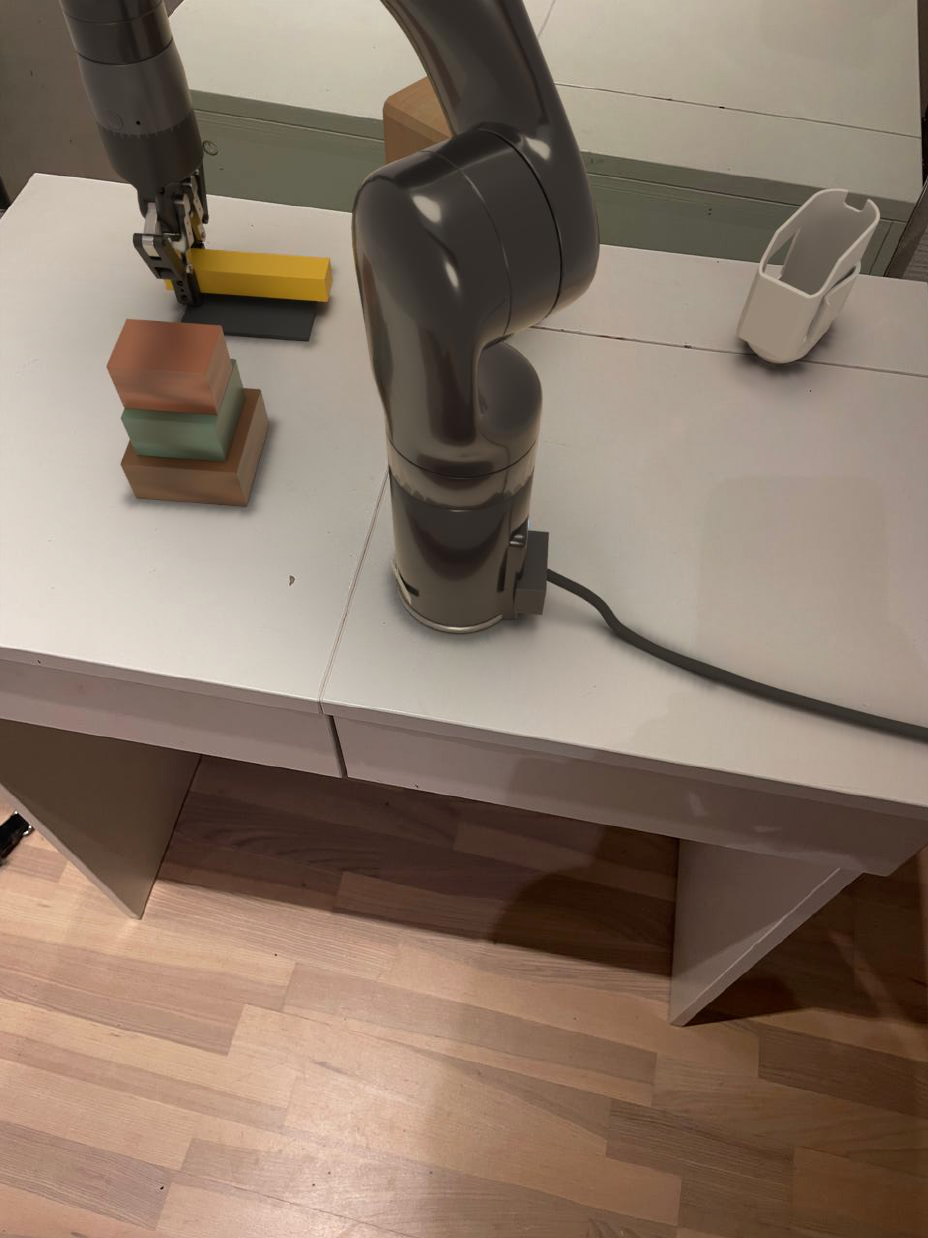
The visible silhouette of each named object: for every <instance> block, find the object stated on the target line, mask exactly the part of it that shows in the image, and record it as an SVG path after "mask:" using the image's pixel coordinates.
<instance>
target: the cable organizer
mask: <svg viewBox="0 0 928 1238" xmlns="http://www.w3.org/2000/svg"><path fill="white" fill-rule="evenodd" d="M849 192H850V190H849V189H846V188H826V189H822V190H819V191H817V192H815V193H813V194H812V195H811V197H809V198H808V199H807V201H805V202H804V203H803V204H802V205H801V206H800V207H799V208H798V209H797V210H796V211H795V212H794V213H793V214H792V215H791V216H790V217H789V218H788V219H787V220H786V221H785V222H784V223H783V224H782V225H781V226H780V227H778V228H777V230H775V232H774V234H773V235H772V238H771V240H770V241H769V244H768V245H767V247H766V248H765V251H764V253H763V255H762V257H761V259H760V261H759V264H758V266H757V270H756V272H755V275H754V278H753V281H752V284H751V285H750V289H749V292H748V295H747V298H746V301H745V303H744V306H743V309H742V311H741V314H740V317H739V320H738V323H737V326H736V331H735V332H736V335H737V337H738V338H739V339H742V340H743V341H745V342H747V344H748V345H749V347H750V348H751V349H752V351H753V352H754V353H755V354H756V355H757V356H758V357H759V358H760V359H762V360H764V361H766V362H768V363H772V364H786V363H791V362H794V361H797V360H799V359H802V358H803V357H805V355H807V354H808V353H809V352H810V350H812V348H813V347H814V346H815V345H816V344H817V343H818V342H819V340H820V339H821V338H822V337H823V336H824V335H825V333H826V332H827V331H828V330H829V329H830V327H831V325H832V322H833V320H834V319H836V318H837V317H839V315H840V314H841V312H842V311H843V309H844V306H845V304H846V302H847V300H848V298H849V296H850V293H851V291H852V289H853V287H854V285H855V283H856V281H857V279H858V277H859V274H860V272H861V269H862V263H861V260H862V258H863V256H864V254H865V251H866V249H867V248H868V246H869V243H870V241H871V239H872V236H874V235H873V234H874V233H875V231H876V228H877V226H878V224H879V221H880V219H881V211H880V209H879V207H878V206H877V204H875V202H874V201H873V200H872V199H870V198H868V199H867V200H866V202H865V204H864V206H863V208H862V209H861V210H859V209H858V208H855V207H853V206H851V205H848V204H847V203H846V198H847V196H848V194H849ZM792 237H793V238H792ZM791 238H792V241H791V243H790V246H789V248H788V251H787V254H786V257H785V259H784V261H783V265H782V267H781V270H780V273H779V274H778V275H777V276H776V277H773V276H771V275H769V274H767V273H765V271H766V269H767V265H768V263H769V260H770V258H772V256H773V255H775V254H776V252H778V251H779V250H780V248H782V246H784V245H785V244H786V243H787V242H788V240H790V239H791Z"/></svg>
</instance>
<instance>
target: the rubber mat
mask: <svg viewBox="0 0 928 1238" xmlns="http://www.w3.org/2000/svg"><path fill="white" fill-rule="evenodd" d="M201 294H202V297H203V300H202V302H201V305H200V306H186V307H185V309H184V312H183V315H182V318H181V320H180V323H192V324H206V325H220V326H222V330H223V333H224V336H236V337H249V338H263V339H276V340H289V341H292V340H293V341H302V342H303V341H304V342H305V341H306V342H309V341H310V337H311V333H312V330H313V325H314V321H315V317H316V314H317V310H318V306H319V303H320V301H309V300H296V299H283V298H269V297H256V296H243V295H230V294H216V293H203V292H201Z"/></svg>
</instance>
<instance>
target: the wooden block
mask: <svg viewBox="0 0 928 1238" xmlns="http://www.w3.org/2000/svg"><path fill="white" fill-rule="evenodd" d="M382 125H383V139H384V140H383V141H384V158H385V159H384V160H385V165H387V164H390V163H392V162H394V161H397V160H399V159H401V158H404V157H406V156H409V155H411V154H413V153H415V152H418V151H420V150H423V149H425V148H428V147H430V146H432V145H435V144H437V143H440V142H442V141H444V140H447V139H449V138H452V136H451V133H450V130H449V127H448V124H447V121H446V118H445V116H444V113H443V111H442V108H441V106H440V103H439V101H438V98H437V96H436V94H435V92H434V89H433V87H432V85H431V83H430V80H429V78H428V76H427V75H425V76H424V77H422V78H420V79H419V80H417V81H415V82H413V83H411V84H409V85H408V86H406V87H404V88H401V89H400V90H398V91H396V92H395V93H393V94H390V95H389V96H388V97H387V98H386V100H384V102H383V106H382Z"/></svg>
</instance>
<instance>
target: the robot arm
mask: <svg viewBox="0 0 928 1238" xmlns="http://www.w3.org/2000/svg"><path fill="white" fill-rule="evenodd" d="M379 2H380V3H381V4H382V6H384V8H385V9H386V10H387V12H388V13H389V14H390V15H391V17H392V18H393V19H394V20H395V22H396V23H397V25H398V27H399V28H400V29H401V31H402V32H403V34H404V35H405V38H407V40H408V42H409V44H410V45H411V48H412V49H413V51H414V52H415V54H416V56H417V58H418V60H419V62H420V64H421V67H422V68H423V70H424V72H425V74H426V76H428V78H429V80H430V83H431V85H432V87H433V89H434V92H435V94H436V96H437V98H438V101H439V103H440V106H441V108H442V111H443V113H444V116H445V118H446V121H447V124H448V127H449V130H450V133H451V136H452V138H449V139H447V140H444V141H442V142H440V143H437V144H435V145H432V146H430V147H428V148H425V149H423V150H420V151H418V152H415V153H413V154H411V155H409V156H406V157H404V158H401V159H399V160H397V161H394V162H392V163H390V164H387V165H386V164H385V165H383V166H381V167H379V168H377V169H375V170H374V171H372V172H370V173H369V174H368V175H366V177H365V178H364V179H363V180H362V181H361V183H360V185H359V186H358V189H357V190H356V191H357V192H356V194H355V197H354V199H353V206H352V211H351V223H350V231H351V248H352V254H353V261H354V262H353V263H354V271H355V276H356V281H357V287H358V292H359V298H360V305H361V309H362V310H361V311H362V315H363V322H364V330H365V337H366V343H367V351H368V357H369V362H370V368H371V372H372V376H373V380H374V383H375V387H376V390H377V394H378V397H379V400H380V404H381V407H382V411H383V419H384V428H385V430H384V431H385V441H386V452H387V454H386V455H387V464H388V465H387V467H388V475H389V476H388V477H389V478H388V479H389V491H390V503H391V505H390V506H391V512H392V513H391V515H392V528H393V543H394V552H395V553H394V554H395V564H394V562H393V561H392V558H390V557H389V559H390V567H391V569H392V572H393V574H394V575H395V578H396V581H395V582H396V588H397V593H398V597H399V599H400V601H401V602H402V605H403V606H404V607H405V609H406V610H407V611H408V612H409V614H411V616H412V617H414V618H415V619H416V620H417V621H418V622H421V623H423V625H425V626H427V627H429V628H432V629H435V630H437V631H441V632H446V633H454V634H466V633H473V632H478V631H481V630H484V629H486V628H490V627H491V626H493V625H495V624H497V623H498V622H500V621H501V620H516V619H517V618H518V614H526V615H539V616H542V615H543V613H544V606H545V601H546V595H547V588H548V587H547V585H548V582H549V583H550V584H552V585H555V586H557V587H559V588H560V589H562V590H565V591H567V592H569V593H571V594H573V595H575V596H576V597H579V598H580V599H582V600H583V601H585V602H587V603H588V604H589V605H590V606H592V607H593V608H595V610H596V611H598V613H599V614H600V615H601V617H602V618H603V619H604V621H605V623H606V624H607V625H608V627H609V628H610V629H611V630H612V631H613V632H614V633H615V634H617V635H618V636H620V637H621V638H623V639H624V640H625V641H627V642H629V643H630V644H631V645H633V646H635V647H637V648H638V649H640V650H642V651H645V652H646V653H648V654H650V655H653V656H654V657H657V658H659V659H661V660H663V661H665V662H668V663H671V664H673V665H676V666H679V667H682V668H684V669H686V670H690V671H693V672H695V673H699V674H701V675H704V676H707V677H709V678H712V679H715V680H718V681H720V682H723V683H725V684H728V685H731V686H734V687H736V688H739V689H742V690H745V691H748V692H751V693H754V694H757V695H760V696H762V697H766V698H769V699H772V700H775V701H779V702H782V703H786V704H789V705H792V706H796V707H799V708H803V709H806V710H810V711H813V712H817V713H820V714H823V715H824V714H825V715H828V716H831V717H834V718H839V719H843V720H846V721H849V722H853V723H857V724H861V725H864V726H869V727H873V728H876V729H881V730H884V731H888V732H892V733H897V734H901V735H905V736H909V737H913V738H918V739H921V740H927V741H928V727H926V726H922V725H918V724H913V723H910V722H904V721H901V720H897V719H896V720H895V719H892V718H887V717H884V716H880V715H876V714H872V713H868V712H864V711H860V710H857V709H853V708H849V707H845V706H842V705H839V704H835V703H832V702H827V701H824V700H821V699H816V698H813V697H809V696H806V695H802V694H799V693H795V692H792V691H788V690H785V689H781V688H778V687H775V686H771V685H769V684H765V683H764V682H759V681H756V680H754V679H751V678H748V677H745V676H742V675H739V674H736V673H735V672H734V673H733V672H731V671H728V670H725V669H724V668H720V667H717V666H714V665H712V664H709V663H706V662H704V661H700V660H697V659H695V658H692V657H689V656H686V655H683V654H681V653H678V652H676V651H673V650H670V649H669V648H665V647H663V646H661V645H659V644H657V643H655V642H653V641H652V640H651V641H650V640H649V639H647V638H645V637H643V636H642V635H640V634H639V633H637V632H635V631H634V630H632V629H631V628H629V627H628V626H627V625H625V624H624V623H622V622H621V621H620V620H619V618H618V617H617V616H616V615H615V613H614V612H613V611H612V609H611V608H610V606H609V604H608V603H607V602H606V601H605V600H604V599H603V598H602V597H600V596H599V595H598V594H597V593H595V592H593V591H592V590H591V589H589V588H587V587H586V586H584V585H582V584H581V583H579V582H577V581H575V580H572V579H570V578H568V577H566V576H564V575H562V574H560V573H558V572H556V571H554V570H552V569H550V568H548V565H549V564H548V562H549V541H550V540H549V538H550V532H549V531H540V530H529V525H530V519H529V518H530V504H531V497H532V490H533V482H534V474H535V467H536V460H537V451H538V443H539V436H540V429H541V421H542V415H543V405H544V404H543V403H544V393H543V387H542V382H541V380H540V376H539V375H538V372H537V370H536V369H535V367H534V365H533V364H532V363H531V362H530V361H529V359H528V358H527V357H525V356H524V355H523V353H521V352H520V351H519V350H517V349H516V348H515V347H513V346H511V345H510V344H508V343H506V342H504V341H505V340H508V339H510V338H511V337H513V336H515V335H517V334H519V333H520V332H522V331H525V330H526V329H528V328H530V327H532V326H534V325H536V324H537V323H539V322H541V321H543V320H545V319H547V318H550V317H551V316H553V315H555V314H557V313H558V312H560V311H562V310H564V309H566V308H567V307H569V306H571V305H572V304H573V303H575V302H576V301H578V300H579V299H580V298H581V297H583V296H584V295H585V293H586V292H587V291H588V290H589V289H590V286H591V284H592V283H593V281H594V279H595V277H596V274H597V269H598V265H599V259H600V253H601V252H600V249H601V248H600V247H601V237H600V224H599V217H598V213H597V207H596V202H595V197H594V194H593V193H594V192H593V189H592V184H591V180H590V177H589V175H588V174H589V173H588V170H587V167H586V164H585V162H584V158H583V155H582V152H581V150H580V147H579V143H578V141H577V139H576V135H575V134H574V130H573V128H572V125H571V122H570V120H569V117H568V114H567V111H566V109H565V106H564V103H563V101H562V99H561V96H560V94H559V91H558V88H557V85H556V83H555V81H554V78H553V76H552V73H551V70H550V68H549V65H548V63H547V59H546V57H545V54H544V52H543V50H542V47H541V45H540V41H539V39H538V36H537V34H536V31H535V29H534V26H533V23H532V21H531V19H530V15H529V13H528V11H527V8H526V6H525V3H524V0H379ZM58 3H59V6H60V9H61V12H62V14H63V17H64V21H65V24H66V27H67V29H68V33H69V35H70V38H71V42H72V44H73V47H74V50H75V51H74V52H75V54H76V58H77V63H78V68H79V73H80V78H81V81H82V84H83V88H84V90H85V93H86V97H87V99H88V103H89V106H90V109H91V111H92V114H93V118H94V121H95V124H96V126H97V130H98V133H99V135H100V138H101V141H102V144H103V147H104V151H105V153H106V156H107V159H108V162H109V164H110V167H111V169H112V170H113V172H114V173H115V174H116V175H117V176H118V177H119V178H120V179H122V180H124V181H125V182H127V183H128V184H130V185H131V186H132V187H133V188H134V189H135V190H136V196H137V204H138V208H139V212H140V214H141V217H142V218H143V219H144V227H143V232H134V233H133V235H132V245H133V248H134V249H135V250H136V252H137V253H138V254H139V256H140V257H141V259H142V260H143V262H144V263H145V264H146V266H147V267H148V269H149V270H150V271H151V273H152V275H153V276H154V277H155V279H157V280H164V279H167V280H171V282H172V285H173V288H174V290H173V292H174V294H175V298H176V301H177V303H178V304H179V305H181V306H184V307H185V306H186V307H187V306H200V305H201V302H202V300H203V297H202V294H201V291H200V288H199V284H198V281H197V277H196V274H195V270H194V265H193V261H192V256H191V251H190V248H197V249H206V245H205V242H206V238H207V233H206V230H205V227H204V225H208V224H209V219H210V215H209V208H208V207H209V206H208V199H207V189H206V179H205V171H204V169H205V168H204V156H205V150H204V145H203V141H202V137H201V133H200V129H199V125H198V120H197V116H196V112H195V108H194V104H193V99H192V96H191V91H190V88H189V83H188V78H187V75H186V70H185V68H184V64H183V61H182V58H181V55H180V53H179V50H178V47H177V45H176V42H175V38H174V36H173V32H172V27H171V24H170V20H169V16H168V12H167V8H166V7H167V6H166V4H165V0H58ZM174 249H177V250H179V251H180V253H181V257H182V259H180V258H179V256H178V255H177V253H176V252H175V250H174Z"/></svg>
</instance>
